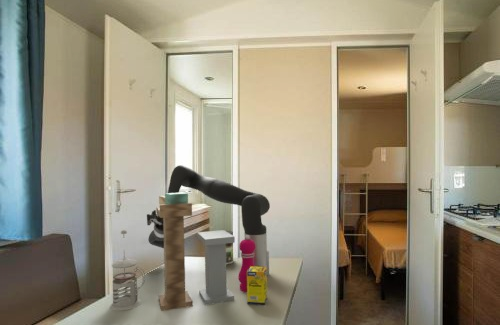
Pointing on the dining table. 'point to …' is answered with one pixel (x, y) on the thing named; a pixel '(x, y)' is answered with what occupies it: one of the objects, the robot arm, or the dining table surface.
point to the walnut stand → (174, 255)
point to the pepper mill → (246, 260)
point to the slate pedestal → (215, 266)
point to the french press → (125, 285)
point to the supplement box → (257, 285)
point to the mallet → (173, 198)
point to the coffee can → (229, 251)
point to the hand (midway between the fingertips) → (166, 211)
